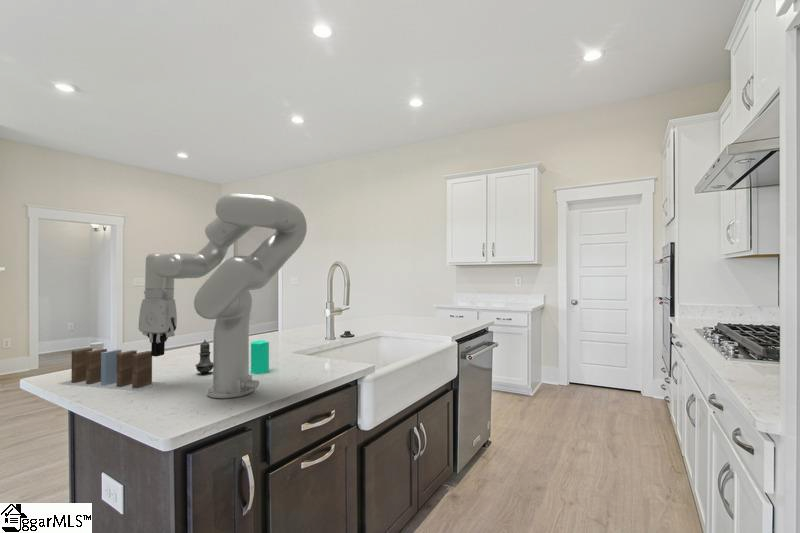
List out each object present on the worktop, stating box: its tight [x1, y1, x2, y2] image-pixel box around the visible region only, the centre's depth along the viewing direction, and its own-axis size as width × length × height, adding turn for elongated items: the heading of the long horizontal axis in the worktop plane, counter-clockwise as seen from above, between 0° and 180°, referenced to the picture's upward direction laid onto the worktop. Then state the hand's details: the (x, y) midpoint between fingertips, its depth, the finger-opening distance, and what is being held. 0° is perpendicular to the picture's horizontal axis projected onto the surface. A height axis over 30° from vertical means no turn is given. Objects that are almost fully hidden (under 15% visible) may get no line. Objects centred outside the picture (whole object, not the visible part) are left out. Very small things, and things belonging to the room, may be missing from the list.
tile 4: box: [86, 348, 108, 384], centre depth 127 cm, size 2×5×10 cm, turn 165°
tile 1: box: [132, 350, 153, 388], centre depth 122 cm, size 2×5×10 cm, turn 165°
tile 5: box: [70, 347, 93, 383], centre depth 128 cm, size 2×5×10 cm, turn 166°
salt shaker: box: [195, 339, 213, 377], centre depth 136 cm, size 6×6×12 cm
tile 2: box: [116, 349, 138, 387], centre depth 123 cm, size 2×5×10 cm, turn 166°
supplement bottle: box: [89, 341, 107, 350], centre depth 141 cm, size 6×6×10 cm
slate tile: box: [101, 349, 122, 386], centre depth 125 cm, size 2×5×10 cm, turn 165°
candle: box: [250, 339, 270, 375], centre depth 140 cm, size 6×6×12 cm
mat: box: [57, 379, 164, 392], centre depth 125 cm, size 32×9×1 cm, turn 75°
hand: (157, 355), depth 120 cm, fingers closed
